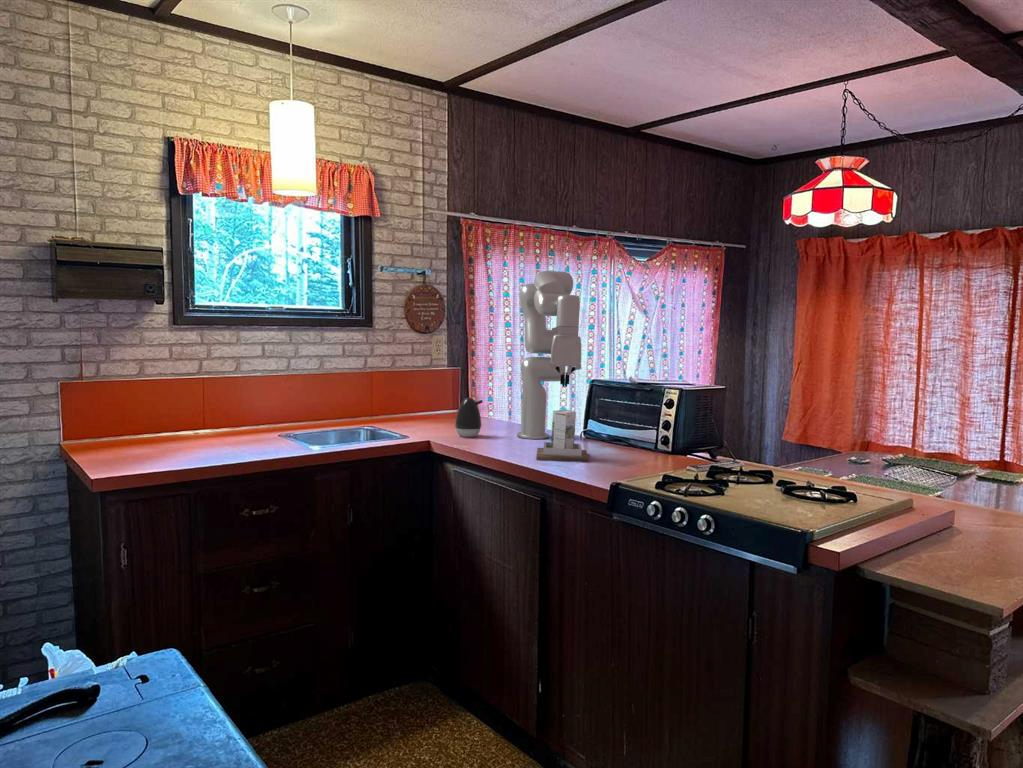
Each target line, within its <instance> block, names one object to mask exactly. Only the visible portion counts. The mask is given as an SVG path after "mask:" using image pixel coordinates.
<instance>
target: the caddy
mask: <svg viewBox="0 0 1023 768" xmlns="http://www.w3.org/2000/svg"><path fill="white" fill-rule="evenodd" d="M535 457H536V459H535V460H536V461H548V460H555V461H554V462H570V461H582V462H581V463H589V455H588V452H587V449H582V445H581V443H576V442H574V449H564V448H551V441H549V442H548V441H544V442H543V447H537V450H536V456H535Z"/></svg>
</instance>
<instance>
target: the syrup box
mask: <svg viewBox="0 0 1023 768" xmlns="http://www.w3.org/2000/svg"><path fill="white" fill-rule="evenodd" d="M576 414H577V412H576V411H574V410H571V409H558V410H552V419H551V422H552V423H551V439H550V442H551V448H564V449H574V443H575V437H576V436H575V435H576V434H575V433H576V418H577V417H576V416H577V415H576Z"/></svg>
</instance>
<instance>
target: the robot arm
mask: <svg viewBox="0 0 1023 768" xmlns="http://www.w3.org/2000/svg"><path fill="white" fill-rule="evenodd" d="M533 279H534V280H533V283H526V284H523V285H522V286H521V288H520V291H519V304H520V306H521V307H520V308H521V310H522V313H523V314H522V315H523V317H524V320H523V321H524V347H525V351H526V352H528V353H530V354H536V355H537V354H540V355H550V357H548V356H529V357H526V358H524V359H523V360H522V361H521V364H520V370H521V381H522V382H521V383H522V384H521V385H522V389H521V390H522V393H521V397H522V399H521V400H522V401H521V422H520V423H521V424H520V425H521V426H520V432H519V431H518V432H517V433H516V436H517V437H518V438H522V439H529V440H545V439H548V438H549V437H550V435H549V434H548V433H546V422H547V421H546V420H547V418H546V417H547V416H546V415H547V390H546V389H545V387H544V386H543V384H542V382H560V385H562V386H561V387H562V388H564V387H565V388H568V385H570V379H571V378H570V375H572V374H573V372H574V371H579V370H580V371H581V370H582V339H581V338H582V337H581V336H579V325H580V310H581V309H580V308H581V307H580V306H581V305H580V304H581V303H580V302H581V299H580V297H579V296H578V295H574V294H572V291H573V288H574V280H573V277H572V275H571V273H570V272H567V271H560V270H559V271H557V270H542V271H539V272H538V273H537V274H536V275H535V276H534V278H533ZM546 317H556V322H555V325H556V326H555V327H552V328H551V329H548V328H547V318H546ZM566 367H567V369H566Z"/></svg>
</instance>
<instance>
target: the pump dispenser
mask: <svg viewBox="0 0 1023 768" xmlns="http://www.w3.org/2000/svg"><path fill="white" fill-rule="evenodd" d="M483 402H484V401H483V400H482V399H481V400H477V401H476V400H475V399H474V398H473V397H465V398H464V399H462V402H461V403H460V405H459V408H458V409H457V413H456V417H455V423H454V428H455V430H456V433H457V435H459V436H460V437H462V438H475V437H477V436H478V435H479V434H480V431H481V428H482V417H481V412H480V410H479V406H478V405H480V404H483Z"/></svg>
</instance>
